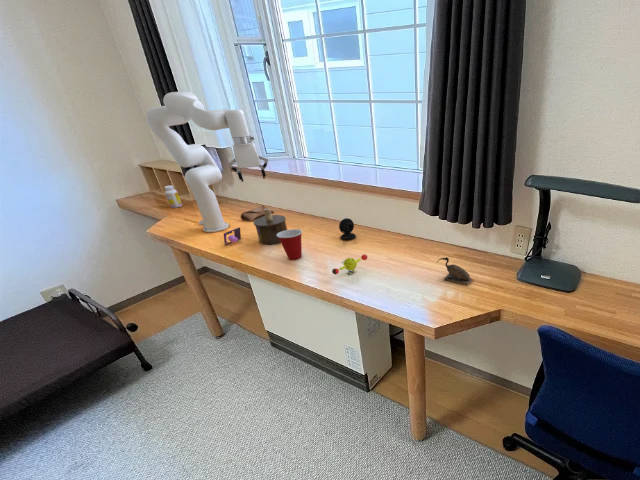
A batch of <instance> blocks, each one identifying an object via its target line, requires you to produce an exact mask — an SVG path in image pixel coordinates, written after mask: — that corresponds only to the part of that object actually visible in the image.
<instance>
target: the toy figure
mask: <svg viewBox="0 0 640 480" xmlns="http://www.w3.org/2000/svg"><path fill="white" fill-rule="evenodd" d="M361 260H362V261H367V260H368V255H367V254H365V253H364V254H362V255H361V256H360V258H357V259H355V258H353V257H346V258H345V260H342V261H341V264H343V265H342V266H341V267H339V268H336V267H335V268H332V270H331V273H332V274H333V275H338V274H339V273H340V271H343V270H346V271H348V275H352V274H354V273H355V270H356V268H357V266H358V262H361Z"/></svg>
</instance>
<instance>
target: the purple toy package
mask: <svg viewBox="0 0 640 480" xmlns="http://www.w3.org/2000/svg"><path fill="white" fill-rule="evenodd" d="M230 234H231V235H230ZM233 234H234V235H233ZM228 235H229V236H228ZM227 236H228V237H227ZM228 240H229V242H228ZM240 240H242V235H241V227H237V228H234V229H231V230H229V231H226V232H224V233H223V241H224V246H227V245H229V244H231V243H233V244H234V243H241V241H240Z"/></svg>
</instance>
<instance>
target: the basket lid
mask: <svg viewBox="0 0 640 480" xmlns="http://www.w3.org/2000/svg"><path fill="white" fill-rule="evenodd" d="M263 210H264V214H265V216H263V217H261V218H258V219H256V220H254V221H253V225H254V226H258V227H269V226H275V225H278V224H281V223H283V222H284V221H285V222H286V220H287V218H286V216H284V215H280V214H272V213H271V211H270V210H271V208H270V207H267V208H265V209H263Z"/></svg>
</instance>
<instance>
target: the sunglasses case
mask: <svg viewBox="0 0 640 480" xmlns="http://www.w3.org/2000/svg"><path fill="white" fill-rule="evenodd" d="M265 208H268V207H267V206H265V205H264V204H263V205H261V206H258V207H255V208H252V209H250V210H248V211H244V212H242V213H240V219H241V220H242V221H243V222H254V221H255V220H256V219H258V218H261V217H264V216H265V214H264V210H263V209H265ZM270 211H271V214H272V213H274V212H275V210H271V209H270Z"/></svg>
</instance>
